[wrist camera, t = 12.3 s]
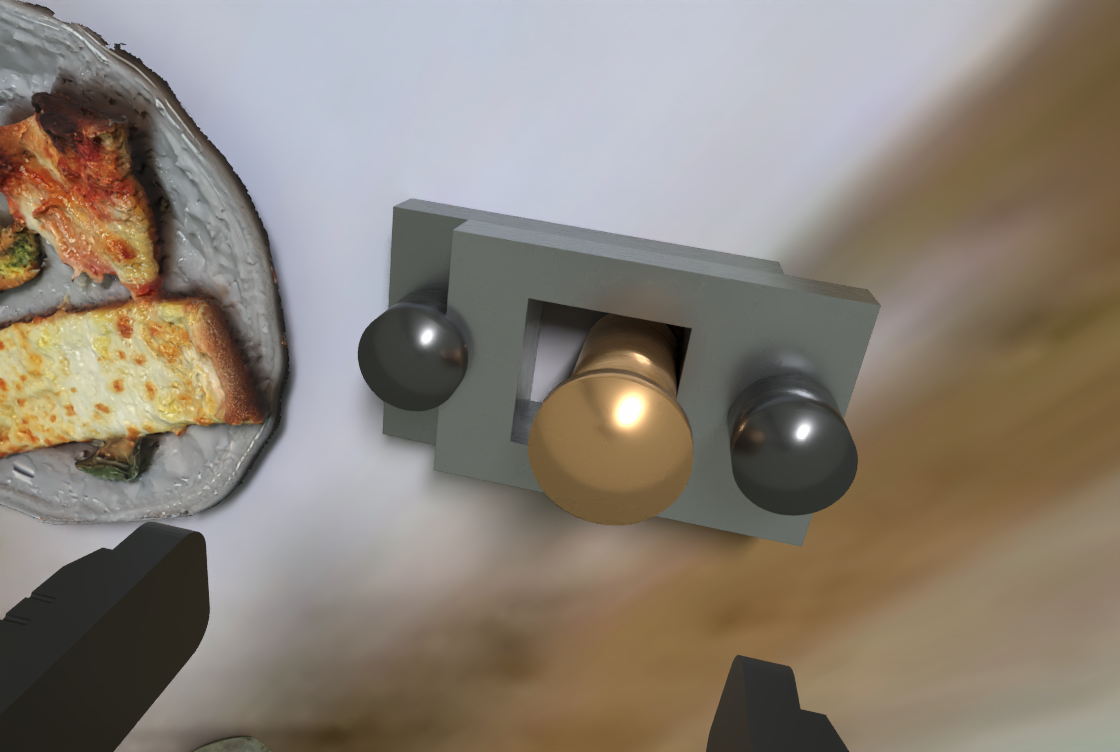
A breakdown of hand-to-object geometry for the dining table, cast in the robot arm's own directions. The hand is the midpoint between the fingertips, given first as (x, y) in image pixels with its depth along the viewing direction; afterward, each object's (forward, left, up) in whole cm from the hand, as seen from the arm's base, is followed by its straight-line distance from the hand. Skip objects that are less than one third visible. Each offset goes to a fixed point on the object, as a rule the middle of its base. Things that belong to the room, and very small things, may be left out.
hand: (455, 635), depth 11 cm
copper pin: (+2, -3, -21) cm, 21 cm away
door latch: (+1, -3, -21) cm, 21 cm away
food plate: (-25, -5, -22) cm, 34 cm away
